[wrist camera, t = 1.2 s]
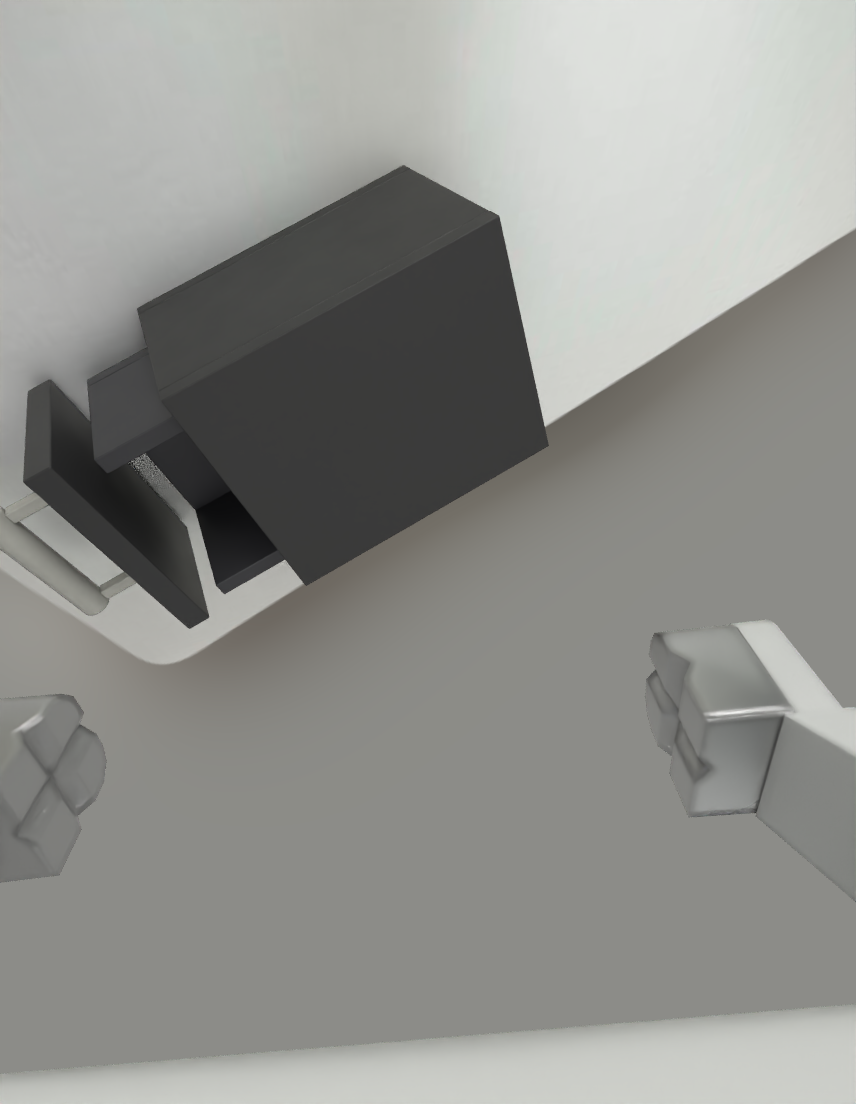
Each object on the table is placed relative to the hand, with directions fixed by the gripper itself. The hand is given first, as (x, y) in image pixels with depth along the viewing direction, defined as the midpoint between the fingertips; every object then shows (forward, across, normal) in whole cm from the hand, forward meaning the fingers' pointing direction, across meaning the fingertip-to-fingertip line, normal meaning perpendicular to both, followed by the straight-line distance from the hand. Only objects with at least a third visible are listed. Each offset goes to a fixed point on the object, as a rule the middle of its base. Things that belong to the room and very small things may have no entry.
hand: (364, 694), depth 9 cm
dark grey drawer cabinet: (+29, -4, -2) cm, 29 cm away
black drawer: (+25, -12, -5) cm, 28 cm away
